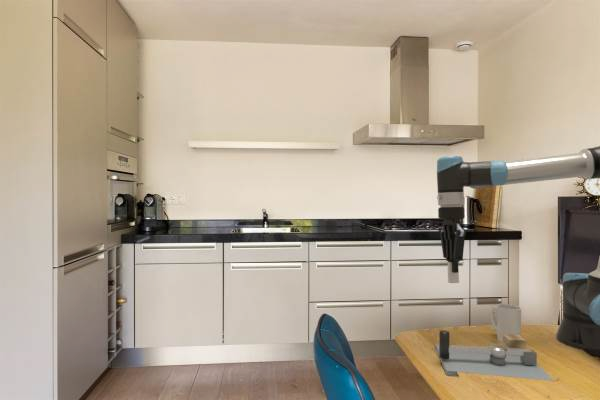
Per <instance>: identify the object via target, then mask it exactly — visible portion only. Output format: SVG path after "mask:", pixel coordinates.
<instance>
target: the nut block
mask: <svg viewBox="0 0 600 400" xmlns="http://www.w3.org/2000/svg"><path fill="white" fill-rule="evenodd" d="M502 346H504V347H506V348H515V349H527V340H526V339H525V338H523V336H520V335H511V334H503V342H502ZM512 356H516V355H512Z"/></svg>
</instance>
